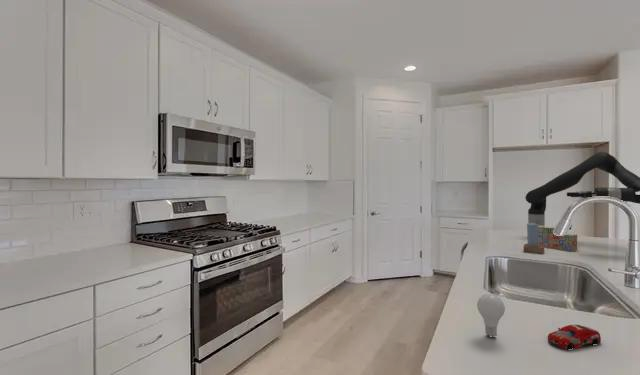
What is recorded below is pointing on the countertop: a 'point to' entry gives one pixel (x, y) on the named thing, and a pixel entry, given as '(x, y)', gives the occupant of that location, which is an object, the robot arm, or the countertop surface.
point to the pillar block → (532, 234)
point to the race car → (574, 337)
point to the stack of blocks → (556, 239)
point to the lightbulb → (491, 312)
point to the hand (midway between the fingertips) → (568, 194)
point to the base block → (534, 249)
